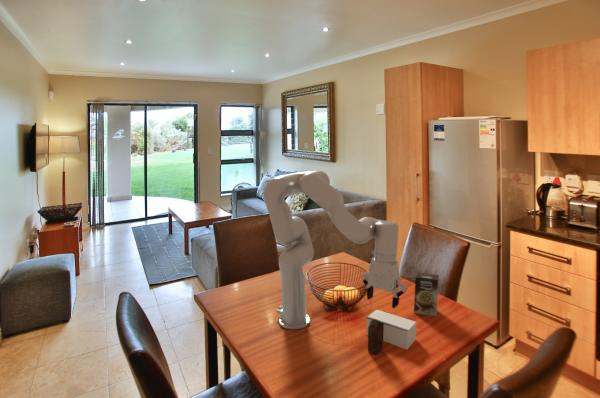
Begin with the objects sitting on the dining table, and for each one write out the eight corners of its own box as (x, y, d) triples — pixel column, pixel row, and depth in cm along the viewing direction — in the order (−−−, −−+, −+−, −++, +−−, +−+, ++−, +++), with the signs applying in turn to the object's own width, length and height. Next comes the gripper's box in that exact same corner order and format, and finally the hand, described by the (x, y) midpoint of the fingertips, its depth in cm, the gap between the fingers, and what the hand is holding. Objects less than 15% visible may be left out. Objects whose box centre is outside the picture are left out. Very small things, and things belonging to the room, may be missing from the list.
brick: (383, 349, 128) (377, 355, 124) (373, 345, 130) (367, 351, 126) (384, 321, 126) (378, 327, 122) (374, 317, 128) (367, 323, 125)
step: (366, 334, 137) (366, 316, 136) (376, 326, 143) (376, 308, 142) (406, 349, 127) (407, 330, 126) (415, 339, 133) (416, 321, 132)
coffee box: (413, 313, 153) (414, 277, 150) (414, 306, 158) (416, 271, 156) (436, 317, 149) (438, 280, 146) (437, 310, 155) (438, 274, 152)
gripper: (357, 253, 128) (355, 298, 131) (404, 265, 117) (400, 314, 121) (368, 248, 134) (365, 291, 137) (413, 259, 123) (409, 306, 126)
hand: (382, 302), depth 129 cm, fingers open, 9 cm apart
